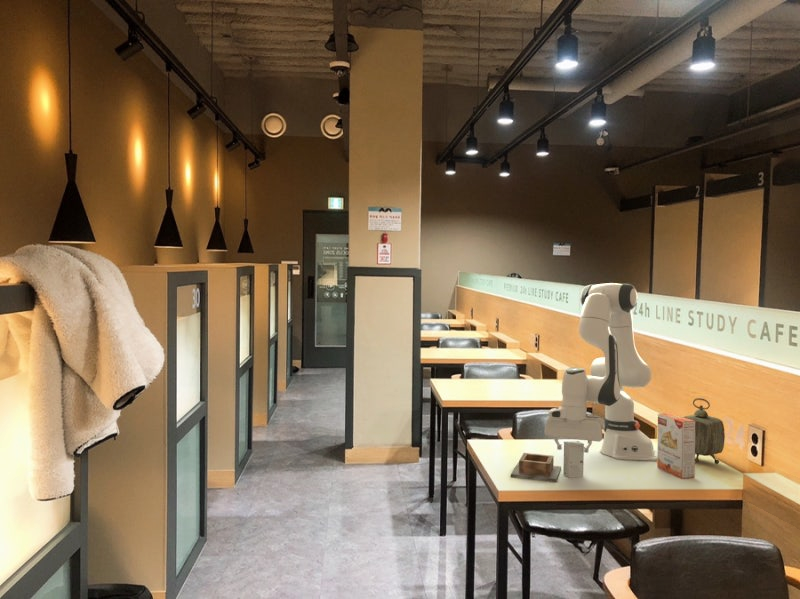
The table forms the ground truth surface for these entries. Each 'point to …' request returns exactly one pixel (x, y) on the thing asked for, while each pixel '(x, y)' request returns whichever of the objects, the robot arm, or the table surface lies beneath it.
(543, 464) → the box holder
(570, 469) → the skincare box
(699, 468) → the table surface
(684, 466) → the cracker box
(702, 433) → the tabletop clock
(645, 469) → the table surface
